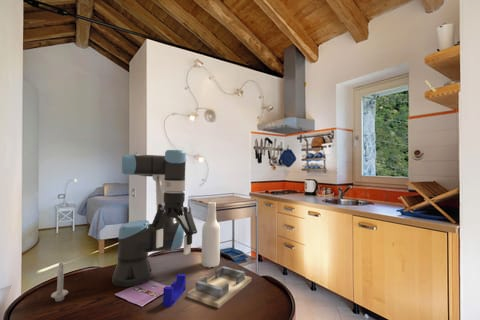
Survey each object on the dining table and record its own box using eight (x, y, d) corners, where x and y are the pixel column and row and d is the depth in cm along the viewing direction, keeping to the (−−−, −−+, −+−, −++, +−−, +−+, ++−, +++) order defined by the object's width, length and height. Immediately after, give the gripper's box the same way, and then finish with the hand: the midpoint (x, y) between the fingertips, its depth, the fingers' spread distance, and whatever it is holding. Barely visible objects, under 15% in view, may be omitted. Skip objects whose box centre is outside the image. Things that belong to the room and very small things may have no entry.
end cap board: (186, 296, 91) (187, 284, 91) (223, 273, 112) (223, 263, 112) (218, 308, 84) (218, 294, 84) (251, 281, 105) (251, 270, 105)
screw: (47, 302, 85) (59, 295, 90) (59, 304, 85) (71, 296, 89) (48, 263, 86) (61, 258, 91) (61, 265, 85) (72, 260, 90)
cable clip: (174, 288, 97) (174, 273, 97) (185, 290, 96) (185, 274, 96) (158, 305, 85) (159, 287, 86) (171, 307, 85) (171, 289, 85)
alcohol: (214, 259, 128) (215, 200, 129) (222, 265, 121) (224, 203, 121) (198, 263, 123) (199, 201, 124) (206, 269, 116) (208, 204, 116)
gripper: (142, 190, 95) (141, 247, 95) (194, 195, 83) (192, 260, 82) (158, 189, 102) (156, 242, 101) (207, 193, 90) (206, 253, 89)
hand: (172, 250), depth 92 cm, fingers open, 13 cm apart
